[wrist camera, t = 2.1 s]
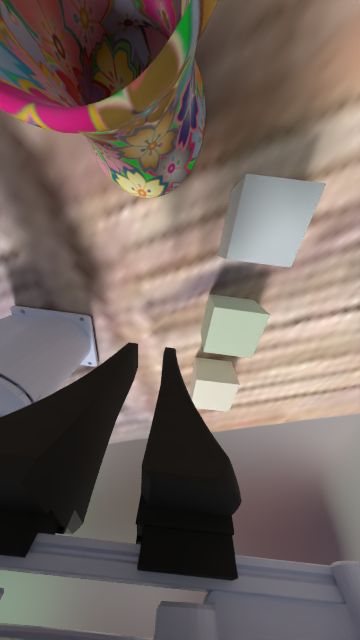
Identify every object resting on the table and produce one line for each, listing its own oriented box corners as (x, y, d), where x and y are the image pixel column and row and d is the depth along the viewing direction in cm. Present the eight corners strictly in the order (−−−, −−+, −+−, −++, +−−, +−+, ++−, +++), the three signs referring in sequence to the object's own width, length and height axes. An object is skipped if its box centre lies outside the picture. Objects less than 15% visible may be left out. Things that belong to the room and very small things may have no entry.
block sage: (200, 331, 19) (203, 352, 16) (208, 293, 17) (214, 307, 14) (239, 336, 20) (251, 358, 16) (253, 299, 17) (270, 314, 14)
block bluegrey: (217, 255, 15) (226, 259, 12) (230, 191, 13) (246, 173, 10) (267, 261, 15) (290, 267, 12) (288, 199, 13) (326, 183, 10)
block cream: (189, 382, 24) (190, 407, 20) (195, 356, 21) (196, 379, 18) (222, 386, 24) (228, 411, 20) (231, 360, 21) (239, 384, 18)
